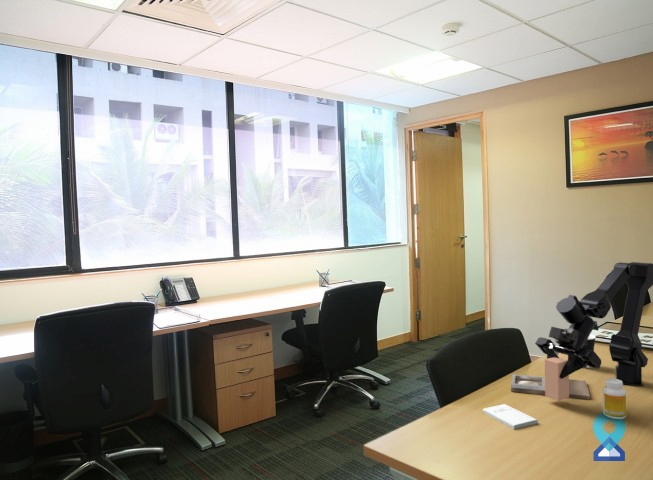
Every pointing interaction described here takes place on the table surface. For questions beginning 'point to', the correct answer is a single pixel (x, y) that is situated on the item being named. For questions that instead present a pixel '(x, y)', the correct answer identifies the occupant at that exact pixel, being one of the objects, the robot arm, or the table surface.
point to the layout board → (538, 386)
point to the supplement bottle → (614, 399)
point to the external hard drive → (510, 416)
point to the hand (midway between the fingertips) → (553, 375)
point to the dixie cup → (590, 345)
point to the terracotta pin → (556, 379)
